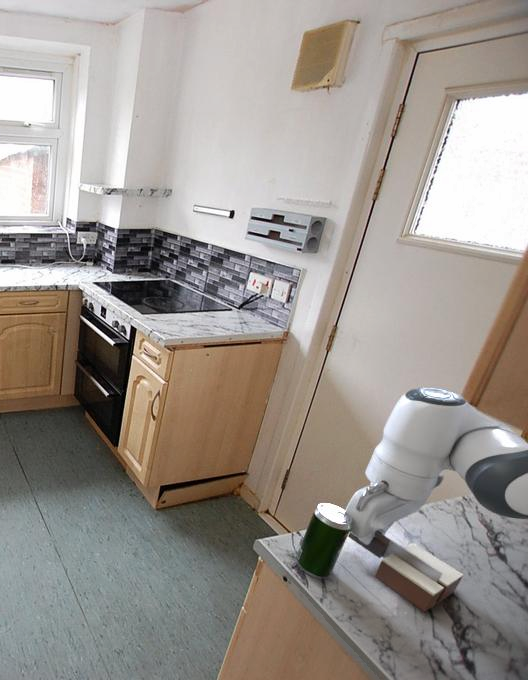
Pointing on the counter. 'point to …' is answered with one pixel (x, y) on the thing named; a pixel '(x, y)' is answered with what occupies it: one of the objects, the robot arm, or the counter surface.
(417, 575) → the cake slice
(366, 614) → the counter surface
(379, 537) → the knife
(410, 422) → the robot arm
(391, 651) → the counter surface
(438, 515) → the counter surface
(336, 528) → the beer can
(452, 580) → the cake
